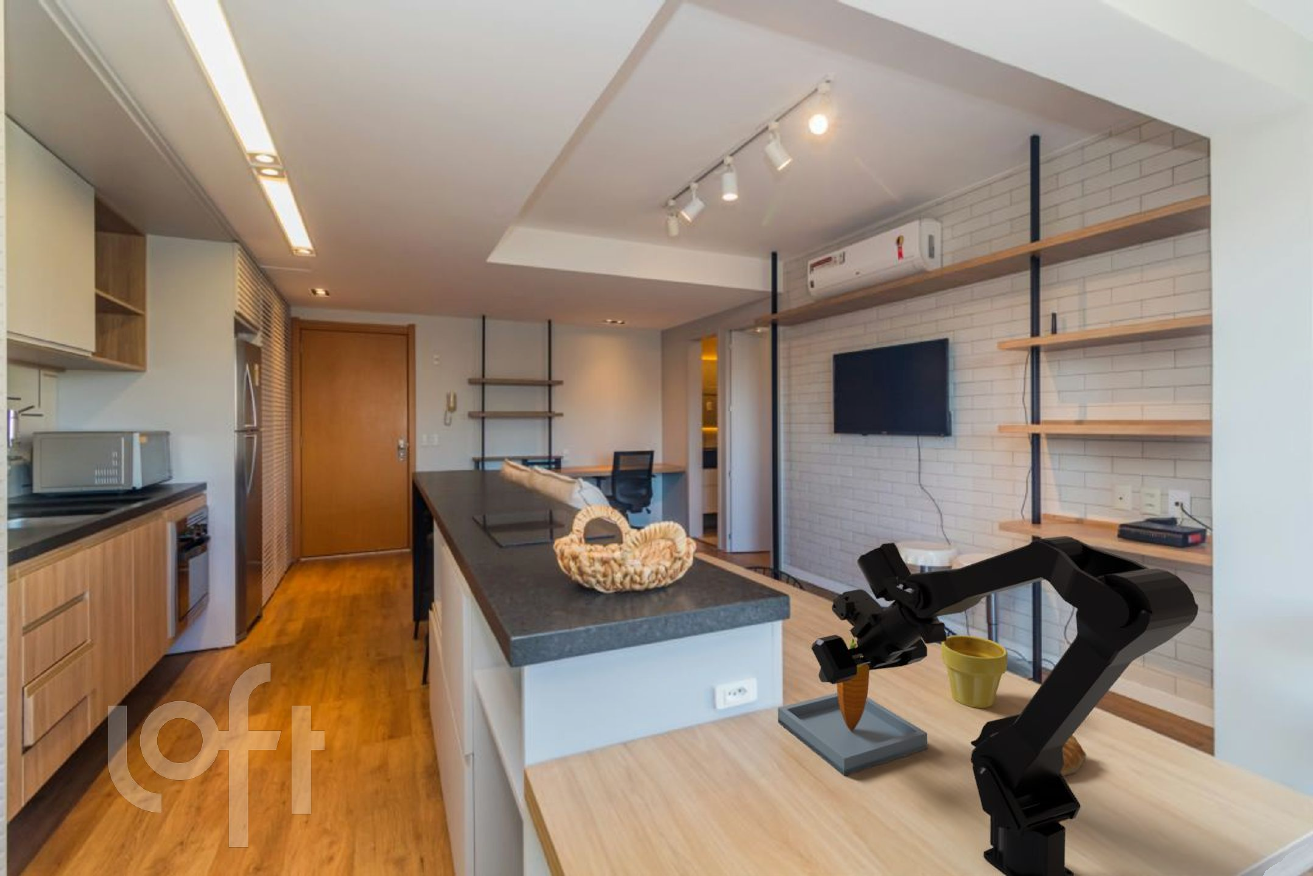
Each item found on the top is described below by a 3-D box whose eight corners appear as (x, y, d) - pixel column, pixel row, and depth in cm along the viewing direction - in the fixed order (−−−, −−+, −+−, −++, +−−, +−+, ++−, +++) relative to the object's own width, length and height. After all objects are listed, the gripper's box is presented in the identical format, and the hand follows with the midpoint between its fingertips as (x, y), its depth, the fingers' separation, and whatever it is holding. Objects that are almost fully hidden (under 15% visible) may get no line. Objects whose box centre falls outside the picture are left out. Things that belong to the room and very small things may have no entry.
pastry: (1074, 789, 81) (1074, 762, 81) (1018, 769, 86) (1018, 743, 86) (1087, 760, 88) (1087, 735, 88) (1034, 743, 93) (1034, 719, 92)
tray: (927, 749, 91) (927, 733, 91) (844, 775, 84) (844, 758, 84) (853, 702, 105) (853, 688, 105) (778, 722, 99) (778, 707, 99)
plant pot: (1014, 717, 100) (1015, 660, 99) (947, 710, 102) (948, 654, 102) (996, 689, 110) (997, 637, 109) (935, 683, 112) (936, 632, 112)
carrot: (828, 727, 95) (830, 635, 95) (848, 719, 98) (850, 629, 98) (854, 742, 91) (857, 645, 91) (874, 732, 94) (877, 639, 94)
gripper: (912, 570, 94) (860, 618, 105) (819, 586, 86) (774, 636, 97) (956, 636, 87) (896, 679, 98) (859, 660, 79) (805, 705, 90)
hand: (843, 672), depth 96 cm, fingers open, 9 cm apart
